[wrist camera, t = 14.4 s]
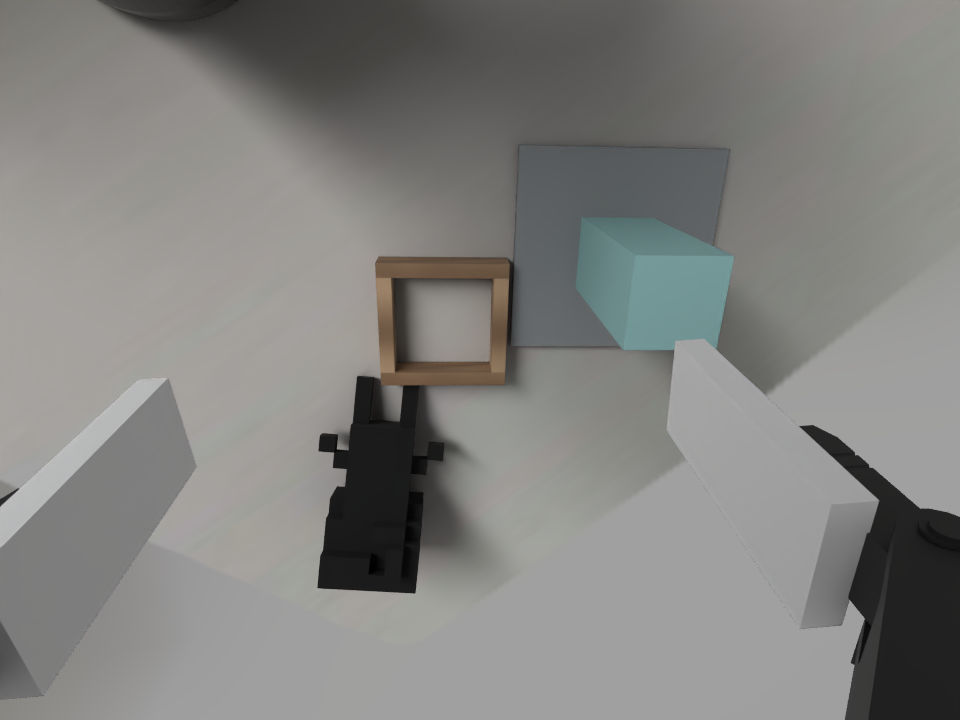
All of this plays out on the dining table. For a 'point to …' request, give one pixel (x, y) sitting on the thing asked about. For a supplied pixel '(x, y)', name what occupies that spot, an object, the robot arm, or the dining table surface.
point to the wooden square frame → (442, 370)
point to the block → (651, 282)
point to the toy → (375, 501)
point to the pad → (596, 193)
